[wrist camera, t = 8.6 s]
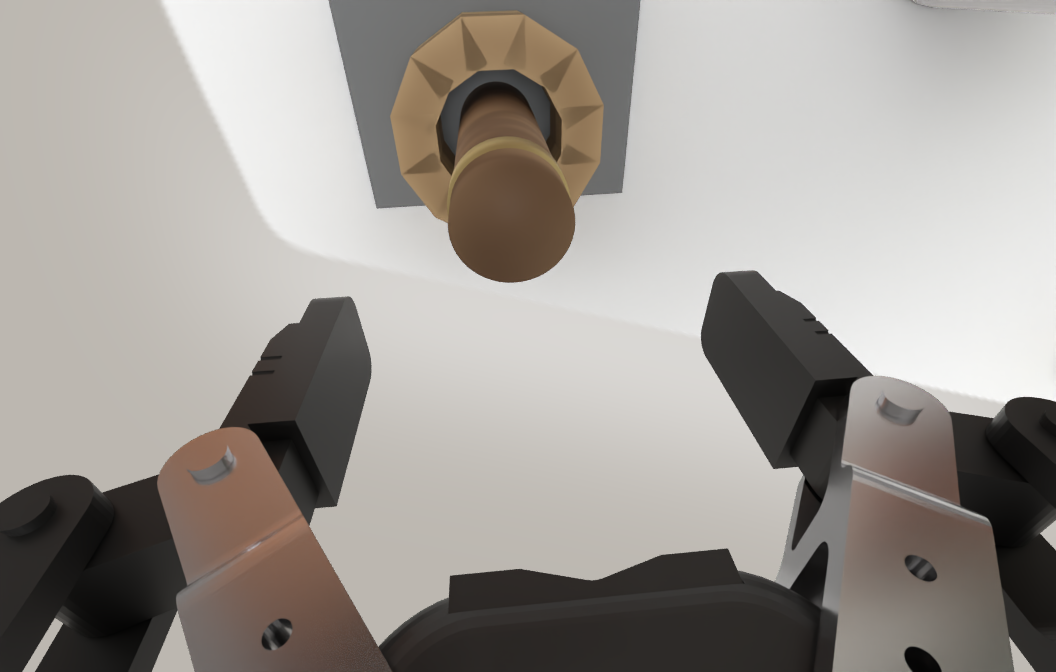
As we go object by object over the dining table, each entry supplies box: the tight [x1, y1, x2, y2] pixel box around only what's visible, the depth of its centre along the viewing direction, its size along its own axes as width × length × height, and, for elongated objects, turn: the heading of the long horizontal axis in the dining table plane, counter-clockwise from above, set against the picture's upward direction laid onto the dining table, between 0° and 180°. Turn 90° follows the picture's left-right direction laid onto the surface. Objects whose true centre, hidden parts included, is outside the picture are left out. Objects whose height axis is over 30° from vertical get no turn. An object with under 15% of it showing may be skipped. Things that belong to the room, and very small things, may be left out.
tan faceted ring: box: [390, 10, 604, 223], centre depth 24 cm, size 10×10×4 cm
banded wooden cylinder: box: [447, 81, 575, 283], centre depth 20 cm, size 4×4×14 cm
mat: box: [329, 0, 640, 208], centre depth 24 cm, size 15×16×1 cm
